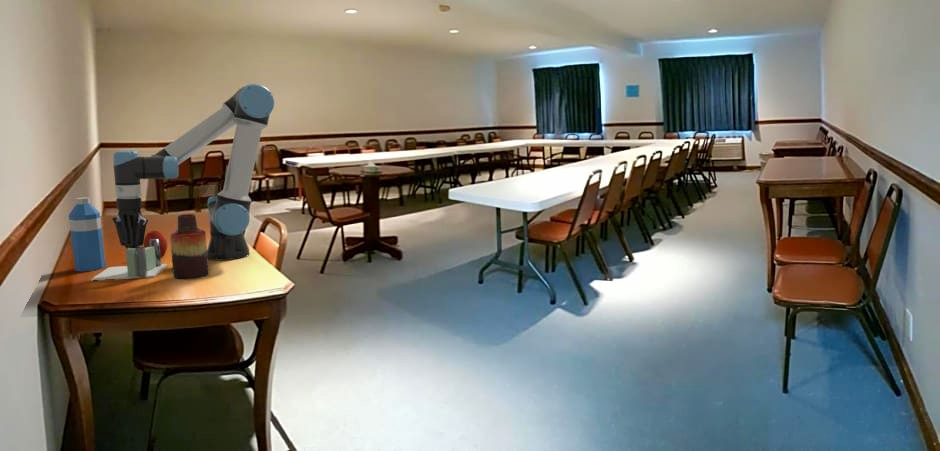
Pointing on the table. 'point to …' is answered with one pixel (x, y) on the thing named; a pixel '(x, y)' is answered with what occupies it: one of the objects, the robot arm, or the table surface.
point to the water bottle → (86, 236)
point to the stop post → (141, 261)
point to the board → (125, 273)
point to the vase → (189, 249)
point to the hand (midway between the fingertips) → (133, 266)
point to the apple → (161, 241)
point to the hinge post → (156, 250)
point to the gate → (133, 261)
